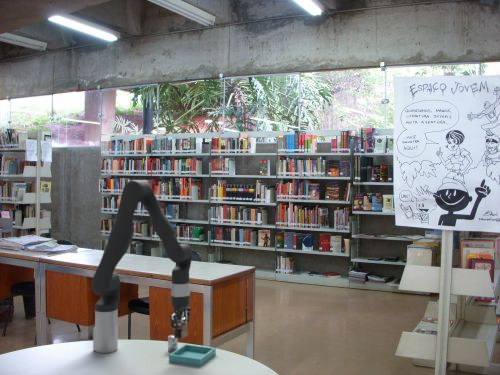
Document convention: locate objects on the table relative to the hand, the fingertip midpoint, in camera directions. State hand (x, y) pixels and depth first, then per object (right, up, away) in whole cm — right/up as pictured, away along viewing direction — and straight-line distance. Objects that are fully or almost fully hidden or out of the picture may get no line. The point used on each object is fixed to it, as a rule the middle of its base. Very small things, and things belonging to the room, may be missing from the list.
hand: (180, 336), depth 203 cm
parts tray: (+5, -9, +2) cm, 11 cm away
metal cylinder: (-5, -9, +10) cm, 15 cm away
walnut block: (0, 0, 0) cm, 0 cm away
